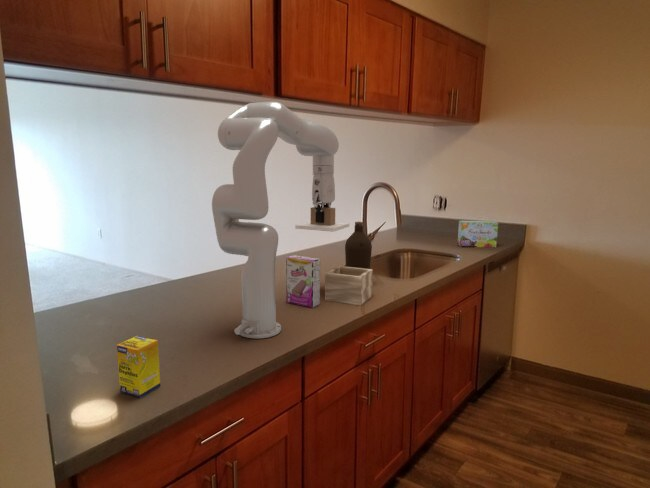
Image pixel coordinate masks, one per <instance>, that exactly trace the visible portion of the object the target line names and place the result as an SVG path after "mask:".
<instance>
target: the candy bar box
mask: <svg viewBox="0 0 650 488" xmlns="http://www.w3.org/2000/svg"><path fill="white" fill-rule="evenodd" d="M285 259H286V260H285V263H286V266H285V267H286V270H285V271H286V274H285V275H286V276H285V277H286V280H285V281H286V285H285V287H286V301H285V302H286V303H289V304H293V305H297V306H302V307H306V308H311V309H313V308H315V307H317V306H319V305H320V303H321V295H320V294H321V259H320V258H317V257H309V256H303V255H296V254H292V255H290V256H286V258H285Z"/></svg>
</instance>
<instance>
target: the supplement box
mask: <svg viewBox="0 0 650 488" xmlns="http://www.w3.org/2000/svg"><path fill="white" fill-rule="evenodd" d="M116 354H117V355H116V357H117V368H118V381H119V392H120V393H122V394H127V395H130V396H133V397H136V398H139V399H142V398H144V397H145V396H146V395H148V394H149V393H152V391H154V390H156V389H158V388H159V387H161V374H160V355H159V340H157V339H151V338H148V337H143V336H140V335H136V336H133V337H131V338H129V339H127V340H123V341H122V342H120V343H118V344H116Z"/></svg>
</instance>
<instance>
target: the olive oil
mask: <svg viewBox="0 0 650 488" xmlns="http://www.w3.org/2000/svg"><path fill="white" fill-rule="evenodd" d="M363 224H364V222H363V221H355V222H354V232H352V233H351V235H350V236H348V238H347V239H346V242H345V245H344V252H345V253H344V255H345V256H344V257H345V266H346V267H355V268H364V269H371V264H372V263H371V262H372V261H371V260H372V250H373V246H372V241H371V240H370V238H369V237H368V236H367V234H366V233H365V231H364V225H363Z"/></svg>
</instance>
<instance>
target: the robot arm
mask: <svg viewBox="0 0 650 488" xmlns="http://www.w3.org/2000/svg"><path fill="white" fill-rule="evenodd" d="M217 139H218V142H219V144H221V146H222V147H223V148H225V149H226V150H230V151H238V153H237V155H236V157H235V158H234V161H233V164H232V179H233V183H231V184H230V183H228V184H227V183H226V184H222V185H220V186H219V187H217V188H216V189H215V191H213V194H212V198H211V199H212V200H211V209H212V210H211V211H212V217H213V222H214V227H215V234H216V239H217V240H216V241H217V243H218V246H219V248H220V249H221V250H222V251H223V252H224V253H226V254H229V255H235V256H245V257H248V258H247V261H245V263H244V264H243V267H242V268H241V274H240V275H241V279H240V280H241V305H242V306H241V307H242V308H241V309H242V310H241V312H242V319H241V323H240V324H239V325H238V327H236V328H234V334H235V335H237V336H238V335H239V336H241V337H243V338H247V339H253V340H254V339H258V340H259V339H268V338H271V337H274V336H276V335H278V334H279V333H280V332H281V331H282V325H281V324H280V323H279V322H277V319H276V318H277V317H276V316H277V314H276V313H277V312H276V311H277V310H276V309H277V308H276V307H277V306H276V302H277V301H276V261H277V260H276V259H277V252H278V246H279V234H278V232H277V230H276V228H274V227H273V226H272V225H269V224H267V223H262V222H261V223H259V222H249V221H250V220H251V221H257V220H261V219H264V218H265V217H266V216H267V215H268V212H269V197H268V189H267V181H266V180H267V179H266V162H267V160H268V156H269V155H270V153H271V151H272V149H273V148H274V146H275V144H276V143H277V141H278V139H281V140H282V141H283V142H285V143H287V144H290V145H293V146H295V147H296V151H297V152H298V153H299V154H300V155H302V156H304V157H312V176H313V177H312V188H311V198H312V201H311V202H312V206H313V207H315V211H316V222H317V223H324V212H323V208H324V207H327V208H331V206H332V203H333V202H335V201H336V200H335V199H336V191H335V190H336V189H335V188H336V187H335V186H336V185H335V177H334V175H335V174H334V173H335V155H336V153H337V152H338V150H339V145H340V142H339V138H338V136H337V135H336V133H335V132H333V131H332V130H331V129H330V128H329V127H328V126H324V125H322V124H320V123H317V122H314V121H310V120H307V119H305V118H304V119H303V118H301V117H299V116H298V115H297V114H296V113H295V112H294V111H292V110H290V109H289V108H288V107H287V106H286V105H284V104H283V103H281V102H278V101H261V102H250V103H247V104H245V105H242V106H241V107H240V108H238V109H237V110H235V111H234V112H232V113H231V114H230V115H228V116H226V117H225V118H224V119H223V120H222V121H221V123H220V124H219V127H218V130H217ZM240 220H246V221H247V220H249V221H248V222H246V221H240Z"/></svg>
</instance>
